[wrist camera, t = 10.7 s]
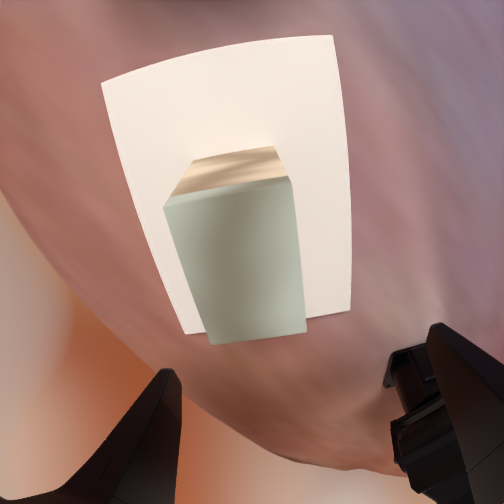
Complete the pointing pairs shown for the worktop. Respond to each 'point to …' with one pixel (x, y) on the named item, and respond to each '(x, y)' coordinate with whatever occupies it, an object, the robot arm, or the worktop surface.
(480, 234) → the worktop surface
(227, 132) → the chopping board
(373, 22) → the worktop surface
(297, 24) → the worktop surface
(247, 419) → the worktop surface
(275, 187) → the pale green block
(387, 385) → the robot arm
